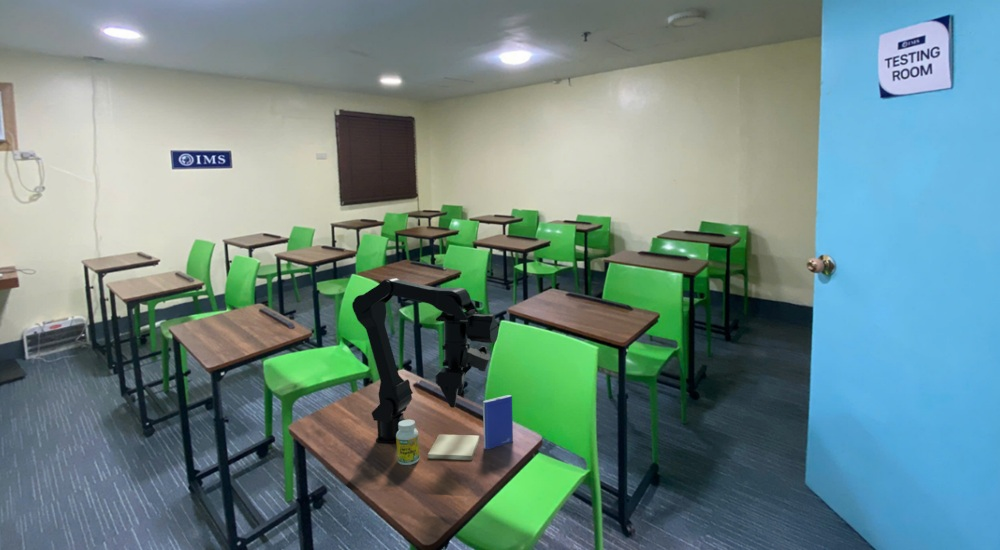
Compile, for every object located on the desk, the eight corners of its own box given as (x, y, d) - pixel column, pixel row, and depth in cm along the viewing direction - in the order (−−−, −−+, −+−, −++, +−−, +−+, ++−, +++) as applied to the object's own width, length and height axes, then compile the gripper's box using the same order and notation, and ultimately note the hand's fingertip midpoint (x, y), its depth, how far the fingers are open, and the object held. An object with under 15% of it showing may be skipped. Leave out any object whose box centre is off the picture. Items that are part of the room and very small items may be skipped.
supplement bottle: (418, 453, 118) (417, 417, 117) (420, 464, 113) (418, 425, 112) (397, 456, 117) (395, 419, 116) (397, 467, 112) (395, 428, 111)
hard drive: (513, 441, 124) (512, 396, 122) (486, 450, 120) (485, 403, 118) (510, 439, 125) (509, 394, 124) (483, 447, 121) (482, 401, 119)
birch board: (428, 460, 116) (427, 454, 116) (439, 440, 127) (439, 434, 127) (472, 462, 115) (471, 455, 114) (479, 441, 125) (479, 435, 125)
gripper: (483, 350, 106) (483, 417, 108) (492, 331, 124) (492, 388, 126) (434, 349, 107) (435, 414, 109) (451, 330, 126) (451, 386, 127)
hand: (456, 400), depth 118 cm, fingers open, 9 cm apart
